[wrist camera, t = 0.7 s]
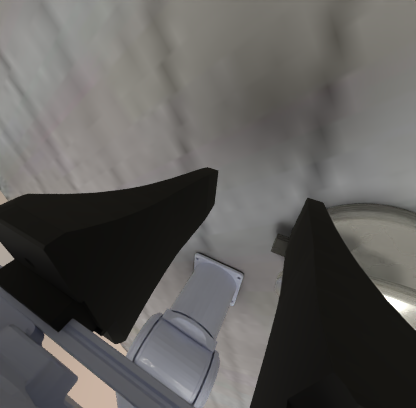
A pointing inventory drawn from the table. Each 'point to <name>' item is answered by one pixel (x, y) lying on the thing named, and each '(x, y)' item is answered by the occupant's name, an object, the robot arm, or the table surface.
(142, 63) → the table surface
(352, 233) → the grey flat round piece
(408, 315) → the lid
